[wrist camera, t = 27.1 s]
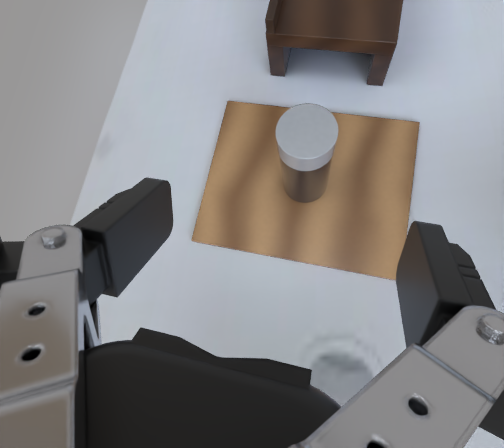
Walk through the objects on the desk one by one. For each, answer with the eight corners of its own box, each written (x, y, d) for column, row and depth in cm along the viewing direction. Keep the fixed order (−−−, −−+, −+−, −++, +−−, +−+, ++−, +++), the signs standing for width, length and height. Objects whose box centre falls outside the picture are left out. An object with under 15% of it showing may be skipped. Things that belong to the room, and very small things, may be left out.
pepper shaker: (331, 164, 35) (343, 106, 25) (324, 207, 34) (333, 163, 24) (287, 158, 36) (281, 99, 26) (278, 199, 35) (269, 154, 25)
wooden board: (418, 124, 35) (419, 122, 35) (400, 281, 32) (401, 280, 31) (228, 102, 39) (227, 100, 38) (192, 241, 35) (191, 240, 35)
